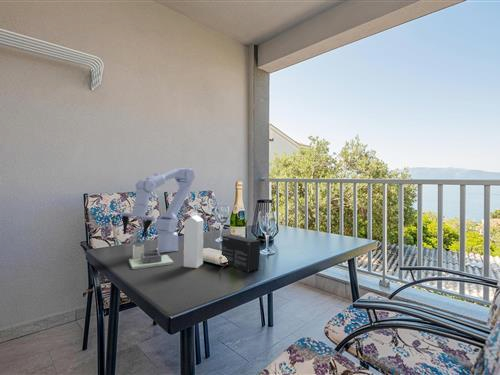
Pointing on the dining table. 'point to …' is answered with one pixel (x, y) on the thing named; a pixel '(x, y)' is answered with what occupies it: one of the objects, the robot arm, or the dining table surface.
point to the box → (241, 252)
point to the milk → (193, 241)
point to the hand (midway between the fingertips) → (133, 235)
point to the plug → (138, 250)
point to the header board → (150, 260)
